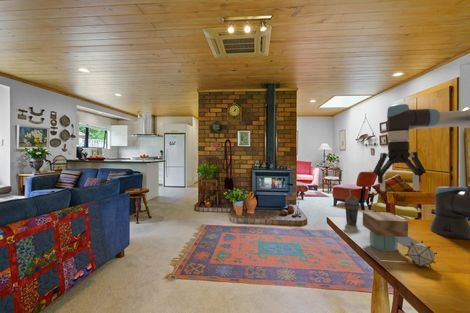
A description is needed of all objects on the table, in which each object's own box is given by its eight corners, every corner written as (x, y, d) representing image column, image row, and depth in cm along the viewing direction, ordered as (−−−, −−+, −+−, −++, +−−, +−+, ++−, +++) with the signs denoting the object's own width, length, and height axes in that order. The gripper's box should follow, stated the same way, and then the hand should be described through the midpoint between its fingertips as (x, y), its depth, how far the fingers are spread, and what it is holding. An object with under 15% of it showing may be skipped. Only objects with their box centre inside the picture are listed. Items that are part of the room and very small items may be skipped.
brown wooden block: (389, 226, 102) (389, 212, 102) (407, 237, 89) (408, 221, 89) (362, 225, 103) (362, 211, 103) (377, 235, 90) (377, 220, 90)
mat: (405, 235, 111) (405, 234, 111) (428, 248, 96) (428, 247, 96) (385, 234, 112) (385, 233, 112) (404, 247, 97) (404, 246, 97)
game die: (415, 276, 81) (395, 251, 82) (419, 260, 86) (400, 237, 88) (444, 274, 74) (422, 246, 76) (446, 256, 80) (426, 231, 81)
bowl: (389, 243, 100) (389, 227, 100) (401, 252, 91) (401, 235, 91) (366, 242, 101) (367, 226, 101) (377, 251, 92) (377, 234, 92)
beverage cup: (361, 227, 122) (361, 189, 122) (346, 226, 123) (346, 188, 123) (356, 223, 129) (357, 187, 129) (342, 222, 130) (343, 186, 130)
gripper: (422, 140, 103) (423, 188, 103) (363, 142, 105) (364, 189, 105) (436, 139, 95) (436, 191, 96) (372, 141, 97) (373, 192, 98)
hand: (399, 190), depth 100 cm, fingers open, 13 cm apart
